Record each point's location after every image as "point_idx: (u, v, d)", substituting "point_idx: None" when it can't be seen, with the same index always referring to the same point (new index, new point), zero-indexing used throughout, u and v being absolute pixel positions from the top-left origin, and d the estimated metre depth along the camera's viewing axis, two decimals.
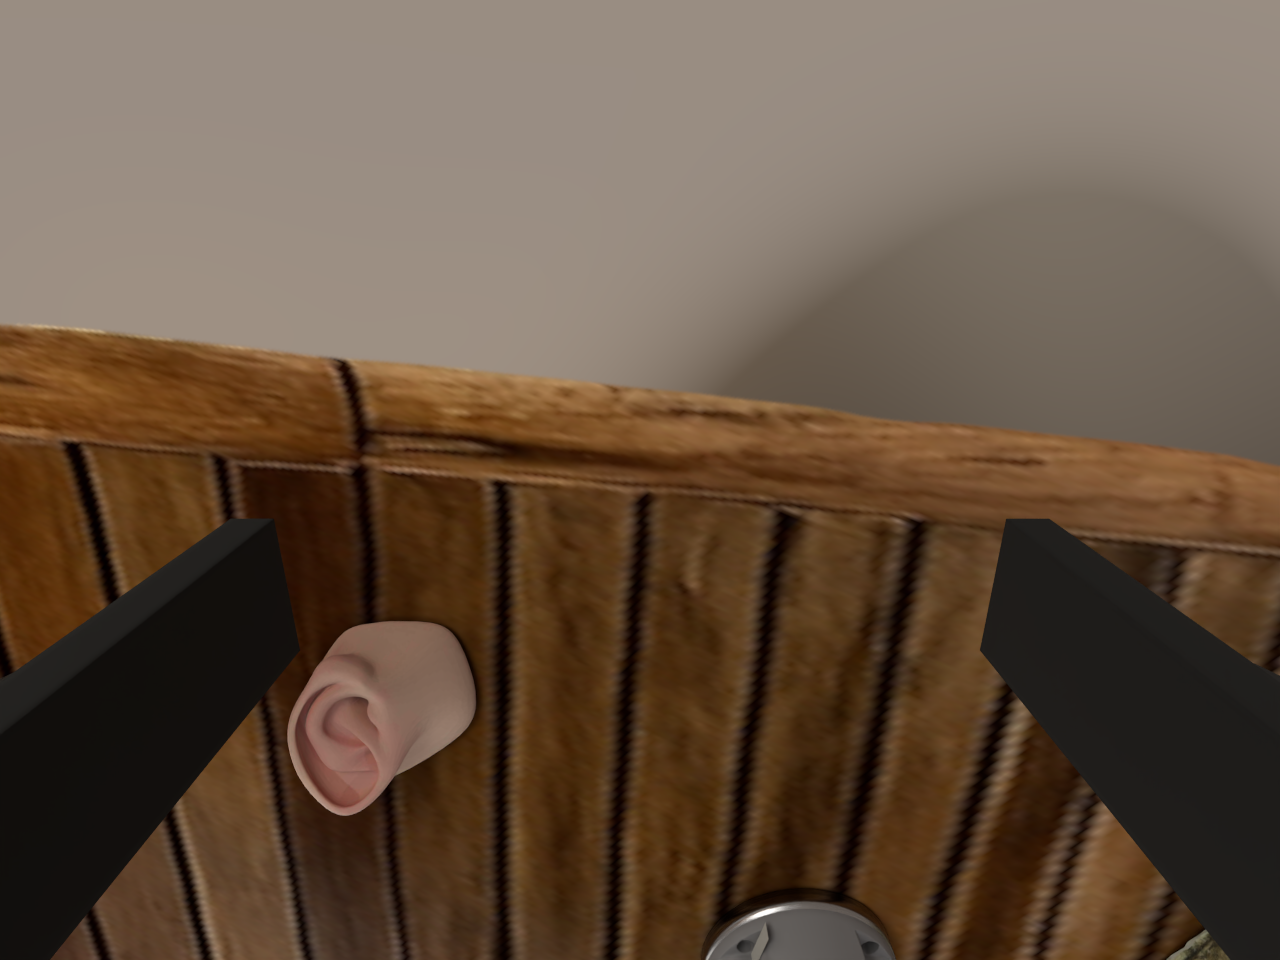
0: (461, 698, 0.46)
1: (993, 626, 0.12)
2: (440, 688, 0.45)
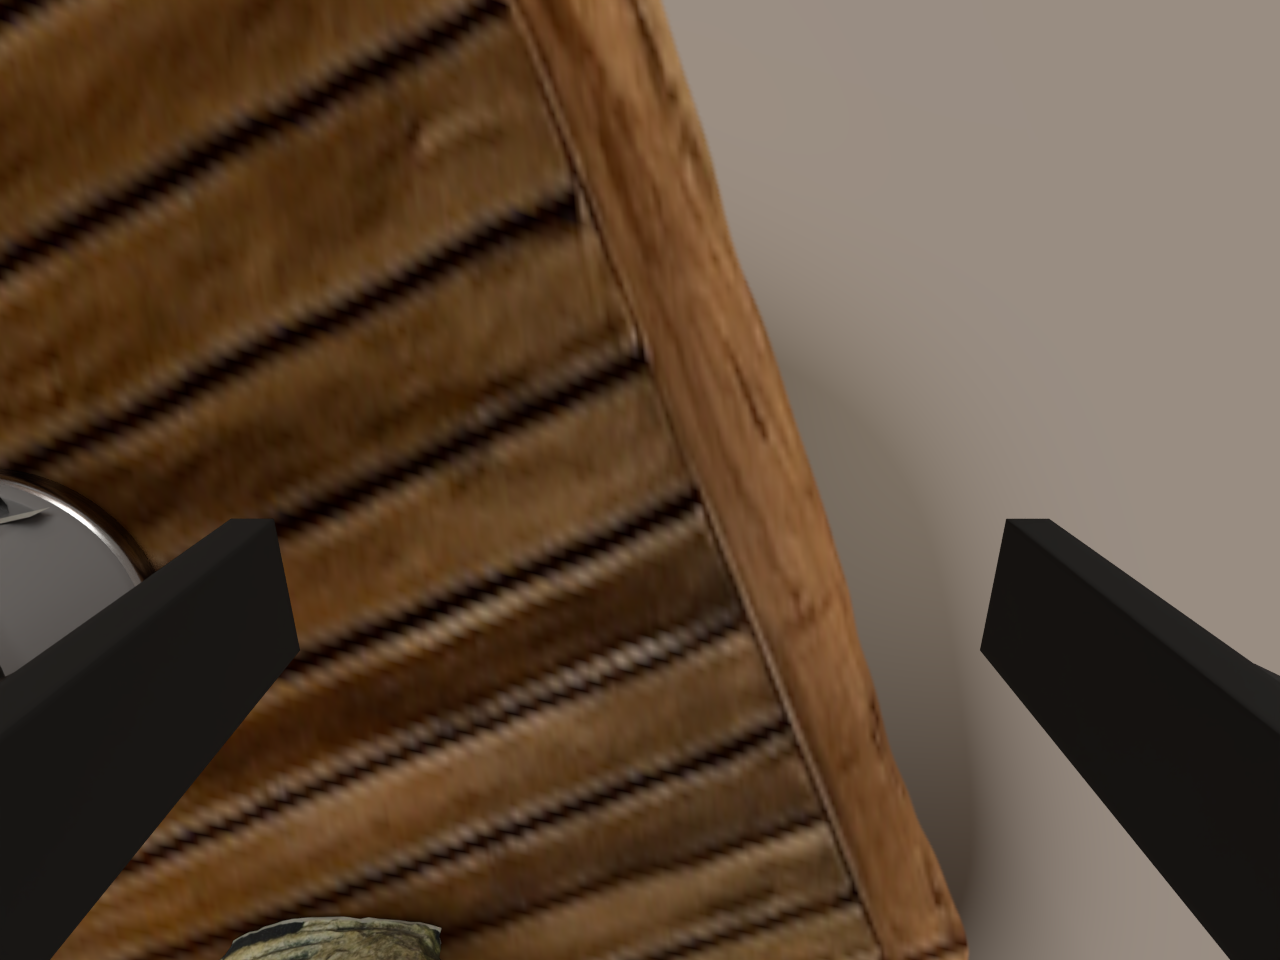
0: None
1: (993, 626, 0.12)
2: None
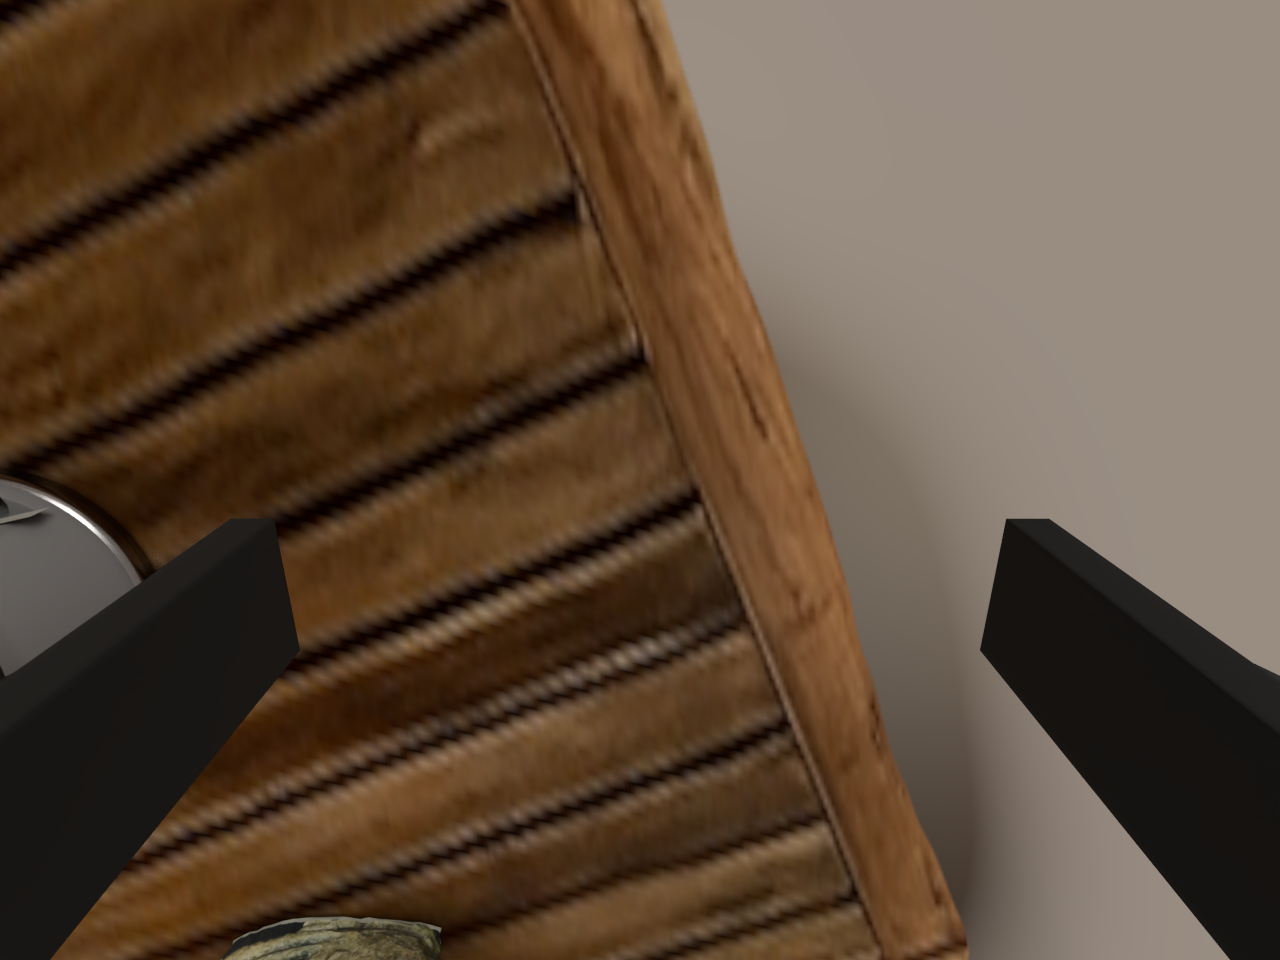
0: None
1: (993, 626, 0.12)
2: None
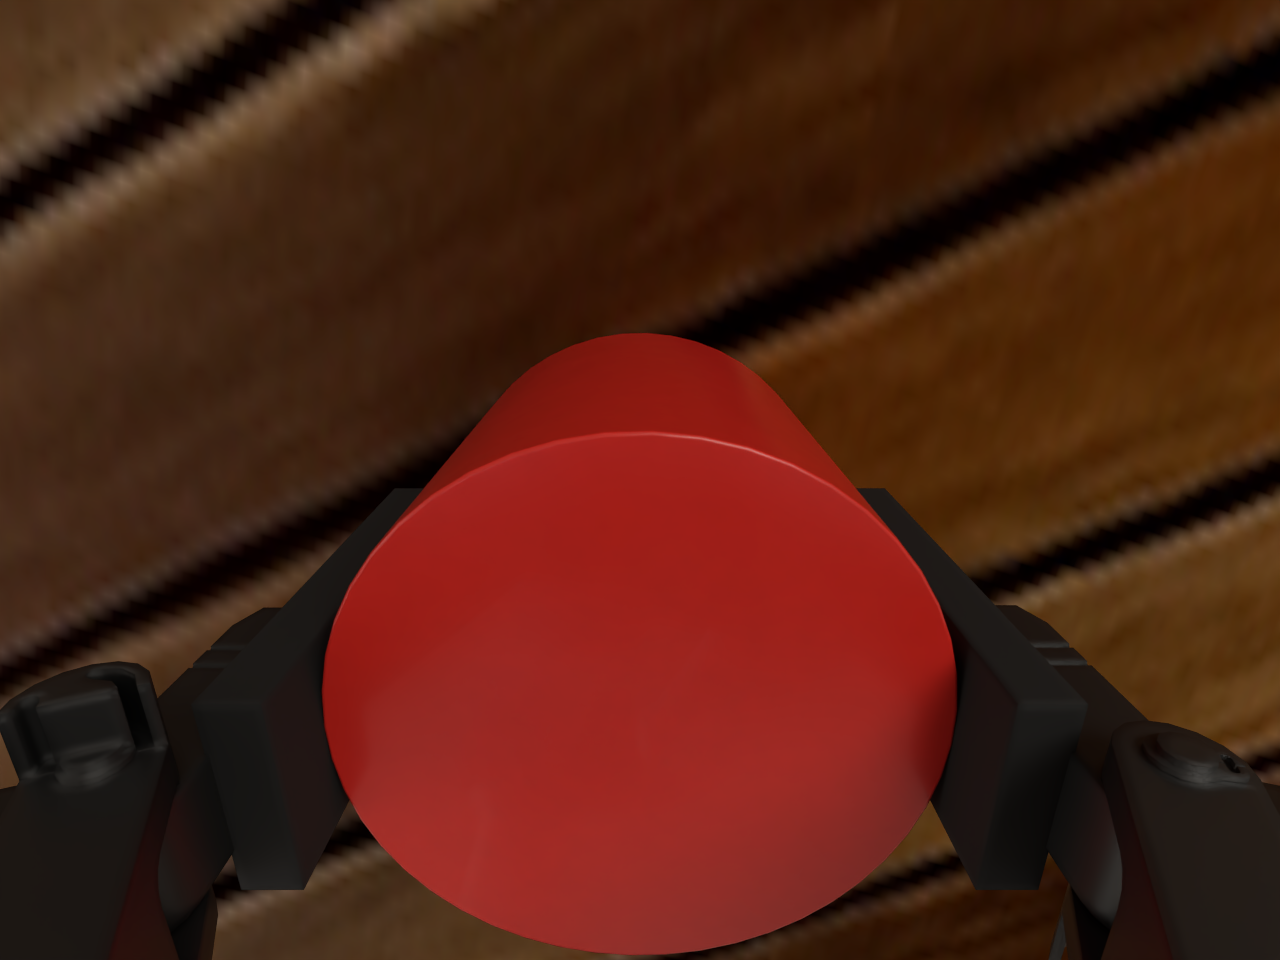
0: None
1: None
2: None
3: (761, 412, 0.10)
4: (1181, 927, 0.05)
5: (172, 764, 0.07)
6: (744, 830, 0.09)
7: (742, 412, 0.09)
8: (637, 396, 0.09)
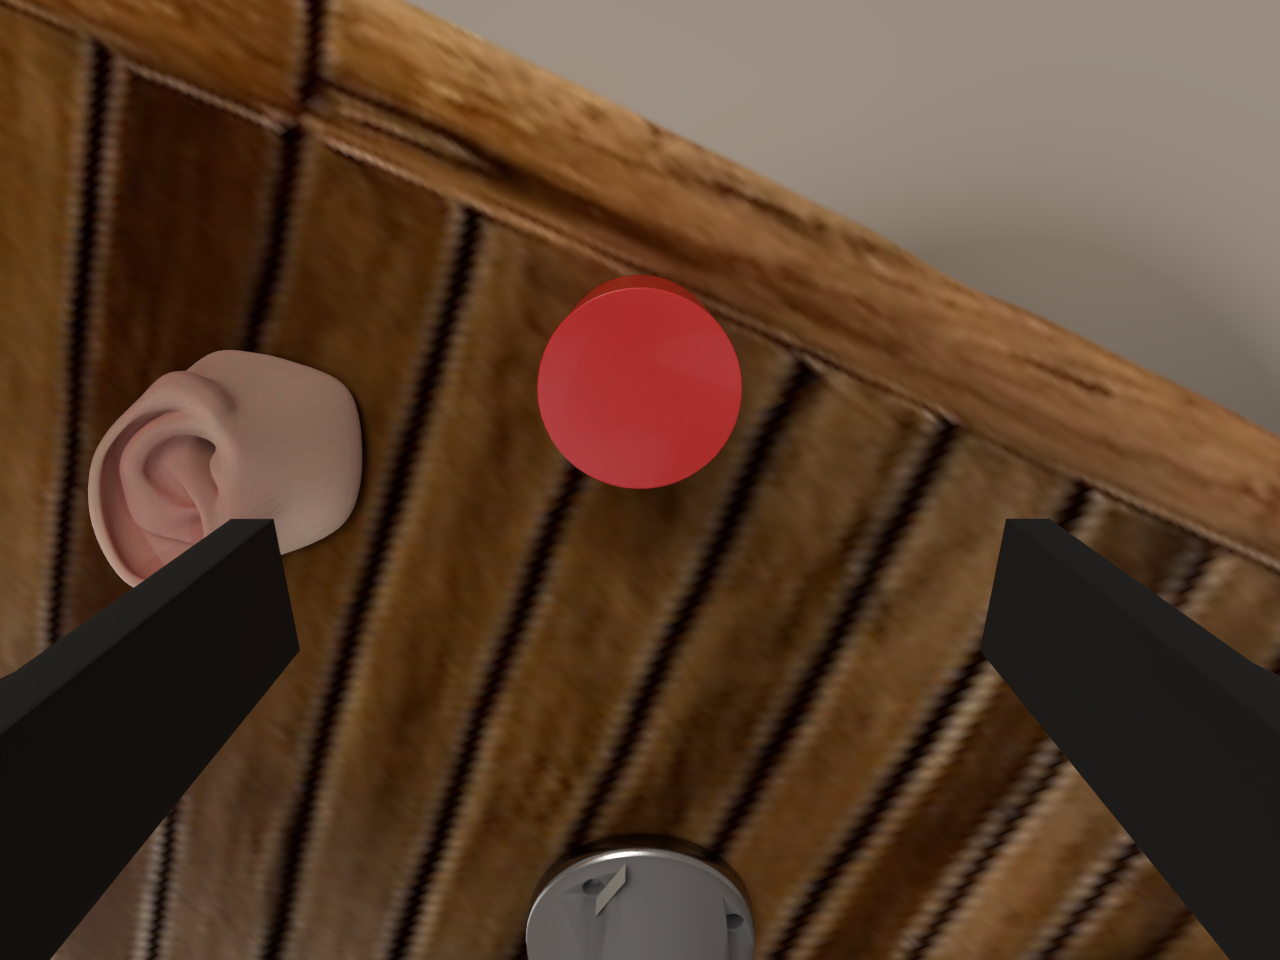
0: (339, 486, 0.35)
1: (993, 626, 0.12)
2: (316, 462, 0.34)
3: (681, 292, 0.28)
4: None
5: None
6: (675, 432, 0.28)
7: (674, 290, 0.28)
8: (639, 284, 0.27)
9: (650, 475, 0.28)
